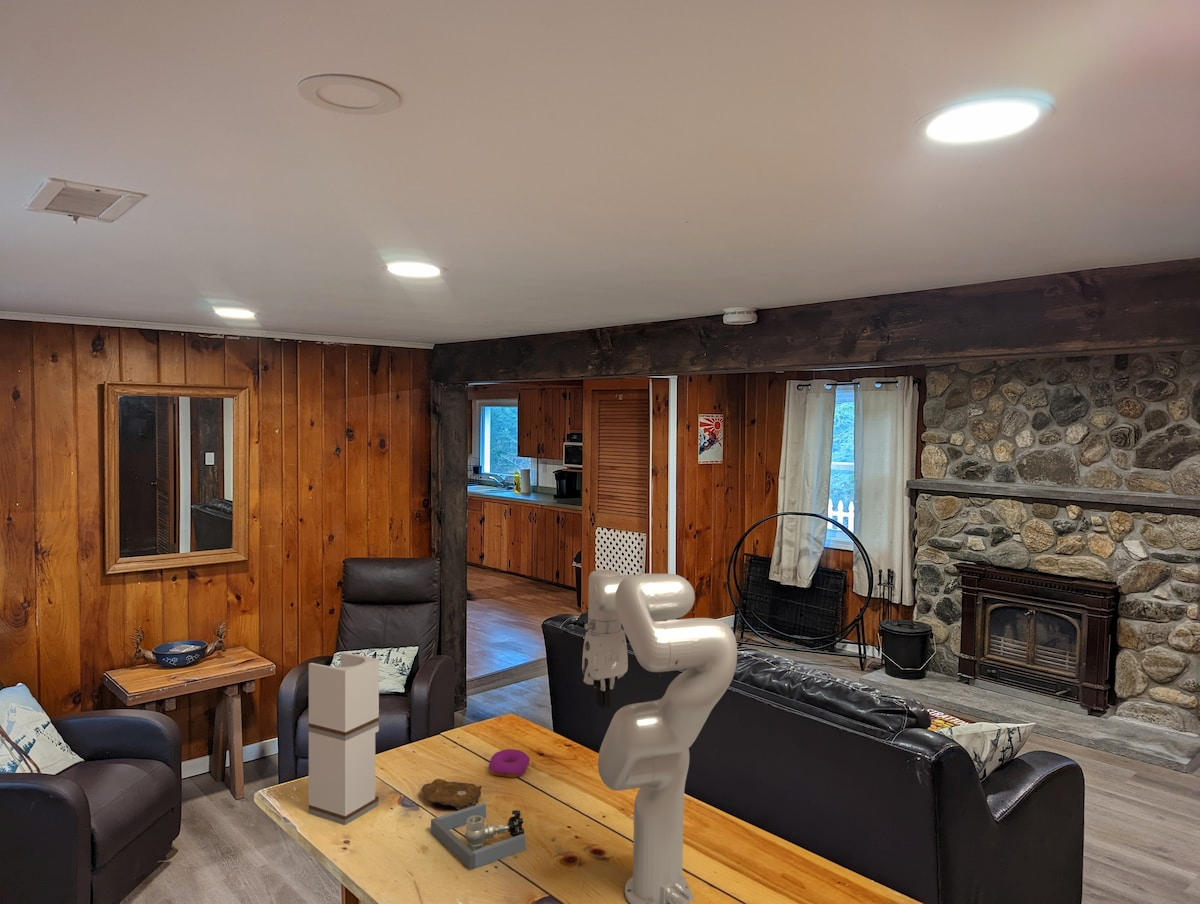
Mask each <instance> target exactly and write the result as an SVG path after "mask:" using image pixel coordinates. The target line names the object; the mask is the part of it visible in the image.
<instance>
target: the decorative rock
mask: <svg viewBox="0 0 1200 904" xmlns="http://www.w3.org/2000/svg"><path fill="white" fill-rule="evenodd" d="M482 788H483V786H482V785H480V786H478V785H476V784H474V783H468V782H458V781H457V782H456V781H447V780H446V779H443V778H437V779H434V780H433V781H432V782H430V783H429V782H428V783H426V784H423V785H422V787H421V789H420V791H421V792H422V793H423V796H424V797H425V798H426V799H427V802H430V803H436V804H437V803H438V804H439V805H441V806H443V805H444V806H452V807H453V808H454V809H457V811H459V810H462V809H465V808H469V807H472V806H475V805H478V804H479V799H480V797H481V795H482V790H481V789H482Z"/></svg>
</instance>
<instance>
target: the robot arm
mask: <svg viewBox="0 0 1200 904" xmlns="http://www.w3.org/2000/svg"><path fill="white" fill-rule="evenodd" d="M587 593H588V594H587V596H588V597H587V598H588V600H587V601H588V603H587V604H588V605H587V606H588V609H587V613H588V616H587V623H584V629H585V630H587V631H585V636H584V641H583V647H582V660H581V662H582V663H581V670H582V674H583V675H584V676H583V683H584V684H586V685H589V686H590V685H592V686H593V687H594V689H596V704H597V705H596V706H598V707H601V708H603V709H607V708H610V707H611V706H612V690H613V689H614V687H615V683H616V682H617V681H618V680H619V679H621V678H623V677H624V676H625V674H626V673H627V672H628V668H629V661H628V660H629V659H628V658H629V657H628V645H627V639H628V642H629V644H630V646H631V649H632V650H633V653H634V655H635V658H636V660H637V662H638V664H639V665H640V666H641V667H642V668H643V669H645V671H648V672H651V673H665V672H672V671H673V672H674V671H682V670H683V672H681V673H679V674H678V675H677V676H676V677H674V679H673V680H672V681H671V682H670V683H669V685H668V687H667V688H666V690H665V693H664V695H663V696H662V697H661V698H659V699H657V700H651V701H644V702H636V703H632V704H631V703H630V704H627V705H624V706H622V707H620V708H619V709H617V711H616V712H615V713H614V715H613V717H612V719H611V721H610V724H609V726H608V728H607V730H606V733H605V735H604V737H603V740H602V743H601V745H600V749H599V751H598V758H597V769H598V774H599V778H600V779H601V782H602V784H604V785H605V787H607V788H608V789H610V790H612V791H619V792H620V791H621V792H622V791H627V790H633V789H638V791H637V793H636V796H635V799H634V804H633V805H634V806H633V835H632V836H633V839H632V840H633V841H632V842H633V844H632V845H633V846H632V847H633V851H632V855H633V857H632V877H630V878H629V879H628V880H627V881H626V883H625V886H624V896H625V899H626V900H627V901H628V903H630V904H690V902H692V901H694V899H695V895H694V894H693V893H692V892H691V888H690V886H689V884H688V883H687V879H686V877H684V876H683V868H684V867H683V862H684V861H683V858H684V857H683V852H684V851H683V849H684V848H683V847H684V804H685V788H686V781H687V777H688V776H687V775H688V772H689V766H690V749H689V748H691V747H692V745H693V744H694V742H695V741H696V740H697V738H698V737H699V734H700V732H701V731H702V729H703V727H704V725H705V723H706V721H707V719H708V717H710V714H711V712H712V711H713V709H714V707H715V706H716V705H717V703H719V701H720V700H721V698H722V697H723V696H724V695H725V693H726V692H727V690H728V688H729V686H730V685H731V683H732V680H733V678H734V676H735V673H736V669H737V663H738V644H737V638H736V636H735V633H734V631H733V629H732V628H731V627H730V626H729V625H728V624H727V623H726V622H724V621H722V620H719V619H715V618H710V617H709V618H708V617H694V618H693V617H690V618H682V617H684V616H685V615H687V614H688V613H690V611H691V610H692V608H693V605H694V603H695V597H696V596H695V595H696V594H695V590H694V588H693V586H692V584H691V583H690V581H688V580H687V579H686V578H685V577H683V576H681V575H678V574H674V573H641V574H625V575H623V574H621V573H620V572H619V571H616V570H613V569H598V570H593V571H592V572H590V573H589V576H588V591H587ZM679 618H680V619H679ZM622 628H623V629H622ZM626 637H627V638H626Z"/></svg>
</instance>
